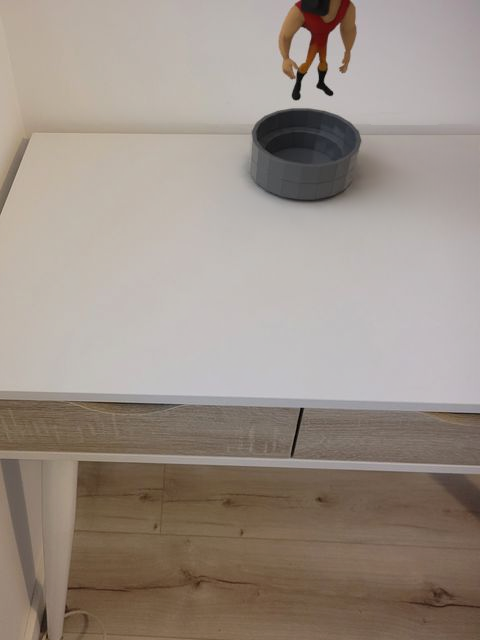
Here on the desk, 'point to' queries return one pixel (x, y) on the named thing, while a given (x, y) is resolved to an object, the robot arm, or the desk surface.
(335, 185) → the bowl
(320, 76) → the action figure
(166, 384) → the desk surface
